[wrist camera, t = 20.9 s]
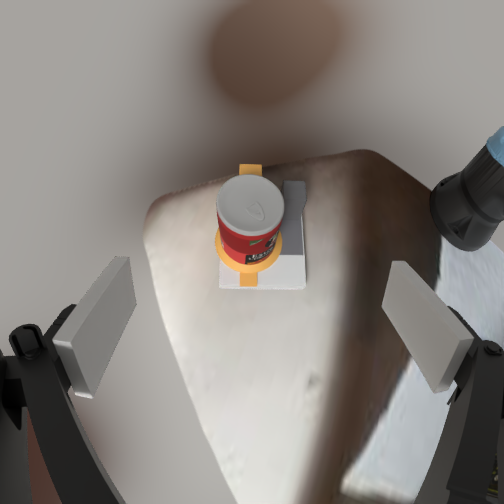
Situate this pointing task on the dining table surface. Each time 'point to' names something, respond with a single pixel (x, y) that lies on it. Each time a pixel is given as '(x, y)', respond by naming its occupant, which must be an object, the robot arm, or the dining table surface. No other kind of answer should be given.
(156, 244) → the dining table surface
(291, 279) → the orange knob base plate
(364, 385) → the dining table surface
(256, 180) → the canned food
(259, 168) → the lever
